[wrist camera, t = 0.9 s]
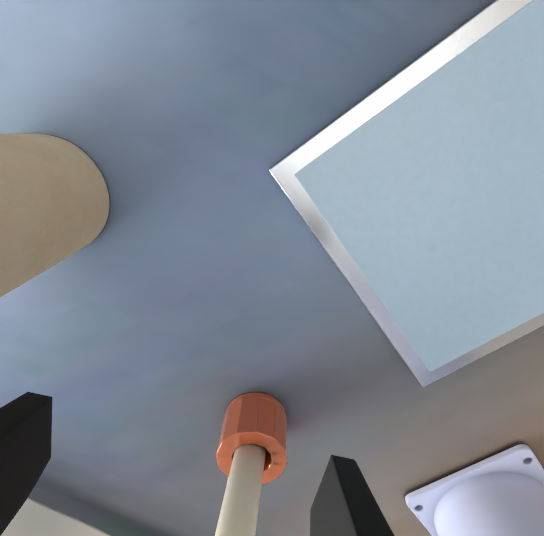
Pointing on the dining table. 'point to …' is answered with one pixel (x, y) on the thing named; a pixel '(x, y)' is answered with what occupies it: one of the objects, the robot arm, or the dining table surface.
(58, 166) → the candle
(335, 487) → the robot arm
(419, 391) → the dining table surface
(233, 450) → the pen holder
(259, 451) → the stylus
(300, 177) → the tablet
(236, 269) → the dining table surface
